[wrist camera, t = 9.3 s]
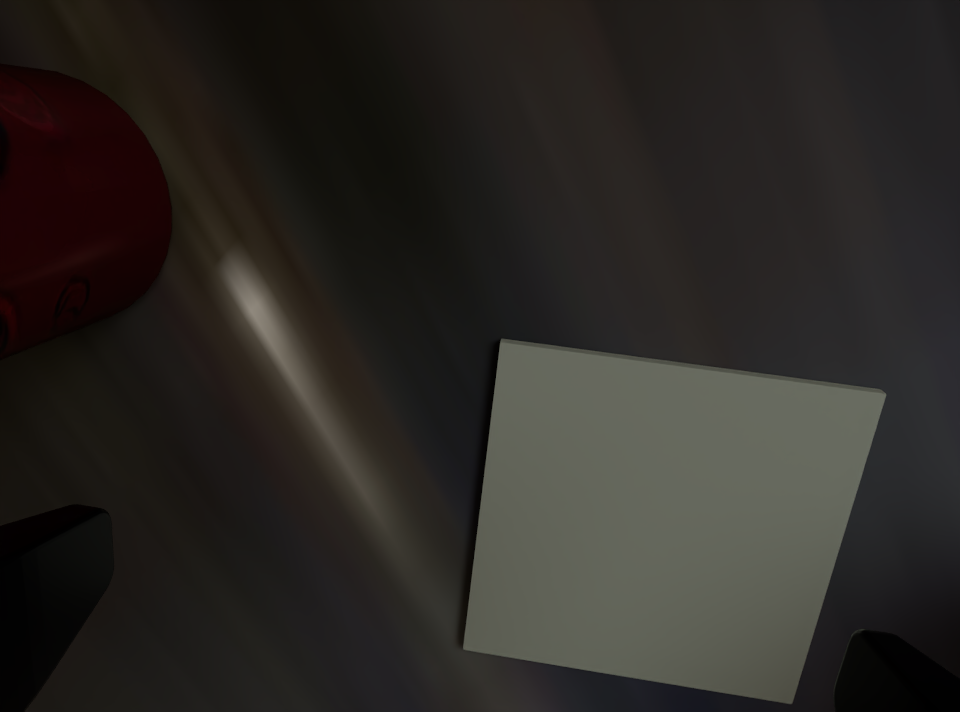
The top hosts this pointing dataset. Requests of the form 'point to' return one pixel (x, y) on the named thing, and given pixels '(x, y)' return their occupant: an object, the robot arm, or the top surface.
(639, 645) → the rubber mat
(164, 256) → the soda can
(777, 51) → the top surface
